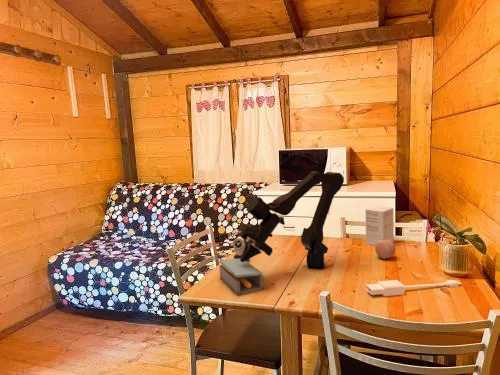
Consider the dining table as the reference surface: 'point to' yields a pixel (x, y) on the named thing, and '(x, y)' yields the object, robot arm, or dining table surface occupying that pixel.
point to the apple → (385, 248)
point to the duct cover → (240, 268)
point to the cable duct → (241, 282)
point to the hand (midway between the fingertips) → (241, 261)
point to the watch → (239, 248)
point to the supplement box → (379, 224)
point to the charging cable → (401, 287)
